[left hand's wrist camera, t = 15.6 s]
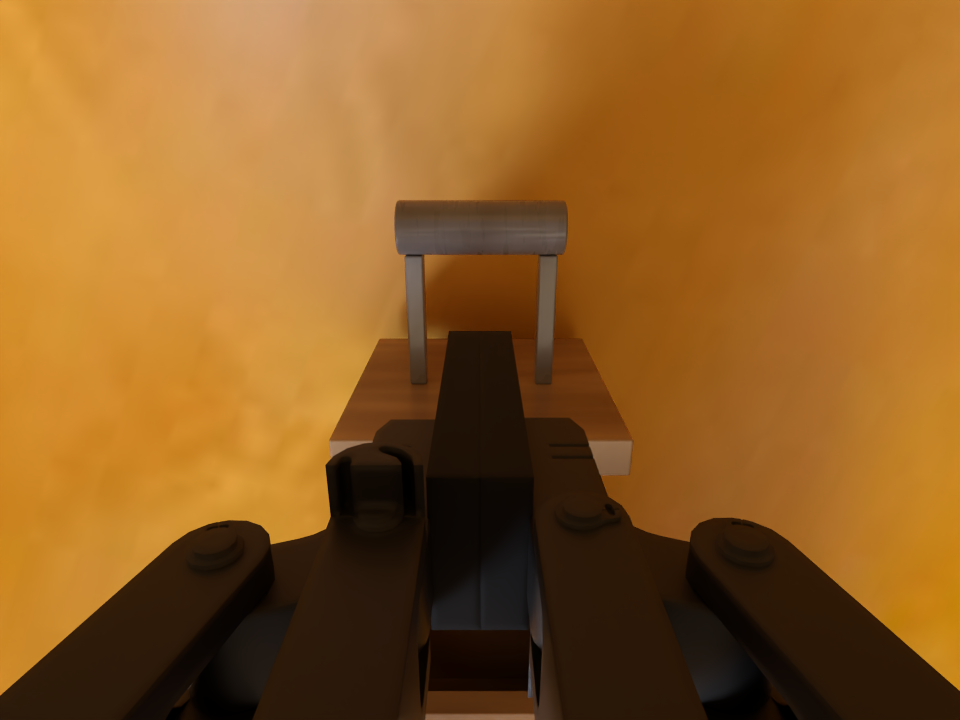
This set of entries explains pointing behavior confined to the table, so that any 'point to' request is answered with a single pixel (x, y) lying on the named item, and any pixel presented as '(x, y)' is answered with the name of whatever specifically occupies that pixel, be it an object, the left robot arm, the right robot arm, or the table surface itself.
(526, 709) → the cabinet
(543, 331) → the drawer
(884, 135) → the table surface
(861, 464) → the table surface
